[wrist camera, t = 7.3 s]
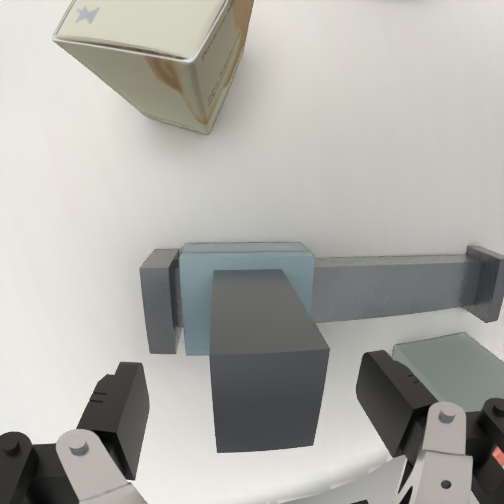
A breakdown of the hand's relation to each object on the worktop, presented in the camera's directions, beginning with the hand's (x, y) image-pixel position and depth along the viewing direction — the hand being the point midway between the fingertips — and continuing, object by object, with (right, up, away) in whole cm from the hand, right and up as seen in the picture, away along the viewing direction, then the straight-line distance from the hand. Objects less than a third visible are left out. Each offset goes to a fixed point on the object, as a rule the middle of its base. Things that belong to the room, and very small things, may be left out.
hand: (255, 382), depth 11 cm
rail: (+6, +2, +10) cm, 12 cm away
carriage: (-1, +2, +10) cm, 10 cm away
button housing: (+15, -6, +13) cm, 21 cm away
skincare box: (-4, +15, +7) cm, 17 cm away
